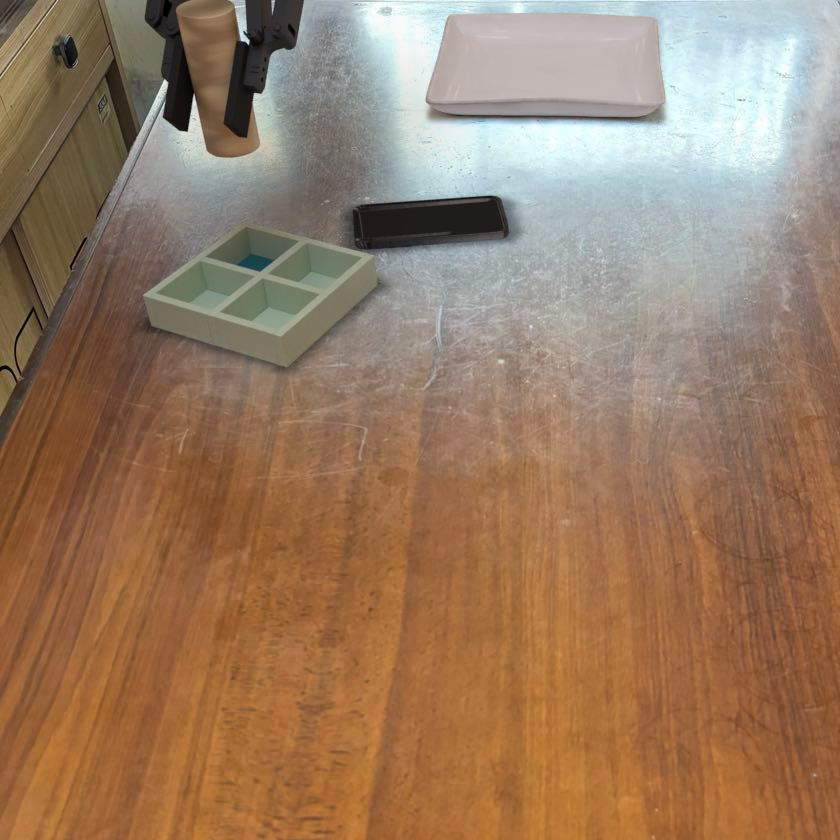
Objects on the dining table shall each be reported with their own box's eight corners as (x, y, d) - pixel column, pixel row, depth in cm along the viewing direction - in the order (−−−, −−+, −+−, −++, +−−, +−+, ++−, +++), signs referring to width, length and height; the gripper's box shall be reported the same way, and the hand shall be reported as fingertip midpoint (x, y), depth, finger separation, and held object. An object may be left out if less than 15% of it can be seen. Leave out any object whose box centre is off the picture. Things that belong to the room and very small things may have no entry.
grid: (152, 330, 97) (142, 295, 95) (250, 255, 106) (243, 220, 104) (288, 372, 93) (281, 336, 90) (378, 290, 102) (374, 255, 99)
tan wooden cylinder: (195, 151, 91) (163, 12, 83) (228, 131, 94) (200, -6, 86) (238, 162, 90) (210, 21, 82) (270, 140, 93) (246, 2, 85)
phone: (352, 205, 111) (500, 194, 113) (353, 215, 112) (500, 204, 113) (354, 244, 105) (510, 232, 107) (356, 254, 106) (510, 242, 108)
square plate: (449, 40, 146) (447, 10, 143) (655, 44, 145) (658, 13, 143) (425, 128, 127) (423, 94, 124) (664, 132, 126) (667, 99, 123)
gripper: (371, -129, 89) (326, 156, 89) (172, -141, 92) (129, 135, 92) (340, -192, 82) (290, 119, 82) (125, -203, 85) (77, 97, 85)
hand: (205, 127), depth 87 cm, fingers closed on tan wooden cylinder, 4 cm apart
